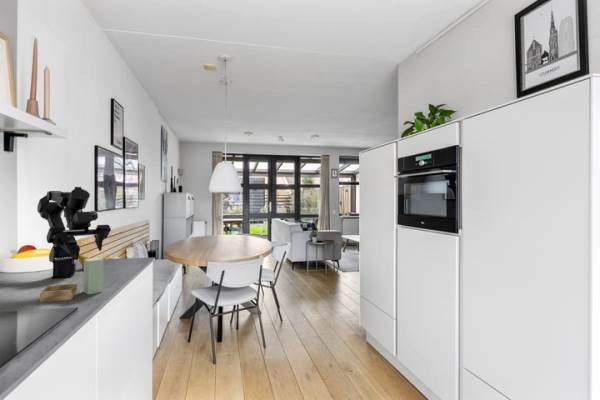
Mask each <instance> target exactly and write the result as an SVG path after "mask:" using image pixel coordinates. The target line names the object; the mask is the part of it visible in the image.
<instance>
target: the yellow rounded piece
mask: <svg viewBox="0 0 600 400" xmlns="http://www.w3.org/2000/svg"><path fill="white" fill-rule="evenodd" d="M84 259H91V257H88V256H85V255H82V254H80V253H79V258H78V261H79V263H80V265H81V269H83V270H84Z"/></svg>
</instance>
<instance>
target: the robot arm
mask: <svg viewBox="0 0 600 400" xmlns="http://www.w3.org/2000/svg"><path fill="white" fill-rule="evenodd" d="M90 196H91V194H90V192H89V191H87V190H86V189H83V188H82V187H81V186H75V187H74V189H73V190H71V191H61V190H49V191H47V192H46V194H45V195H44V196H43V197H41V198H40V199H39V201H38V203H37V213H39V215H40V217H41V218H42V219H44V220H46V221H47V223H48V227H49V229H48V231H47V234H46V242H47V244H52V247H51V249H50V252H49V255H48V260H49V262H50V263H52V276H51V277H50V279H58V278H59V279H61V278H63V279H64V278H72V277H73V276H74V275H75V274H76V268H77V267H76V266H77V263H76V262H75V261H79V259H78V258H79V254H80V251H81V247H80V245H79V244H78V241H77V240H76V237H83V236H84V237H85V236H88V237H89V236H93V237H94V242H95V244H96V247H97V249H98V251H99V252H101V251H102V250H103V241H104V240H106V239H108V237H109V235H110V233H111V230H112V228H111V226H110V225H109V224H97V225H96V227H95V229H94V228H93V229H92V228H91V229H90V227H91V225H92V223H91V222H93V221H97V219H99V215H98V212H97V210H90V211H83V209H85V208H86V206H87V204H88V201H89V199H90ZM62 213H63V218H65V221H66V225H65V224H64V221H63V218H62Z"/></svg>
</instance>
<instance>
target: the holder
mask: <svg viewBox="0 0 600 400" xmlns="http://www.w3.org/2000/svg"><path fill="white" fill-rule="evenodd" d="M77 293H78V283H69V284H68V283H67V284H66V283H65V284H53V285H48V286H46V287H45V288H44V289H43V290H41V291H40V293H39V302H40V303H48V302H61V301H70V300H72V299H74V297H75V296H76V295H77Z"/></svg>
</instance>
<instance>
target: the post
mask: <svg viewBox="0 0 600 400" xmlns="http://www.w3.org/2000/svg"><path fill="white" fill-rule="evenodd" d="M90 258H91V257H90ZM104 260H105V259H104V258H100V257H92V258H91V259H84V269H83V284H82V287H83V288H82V290H83V291H82V292H83V293H84V294H87V295H93V294H98V293H103V292H104V265H105V263H104Z"/></svg>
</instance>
